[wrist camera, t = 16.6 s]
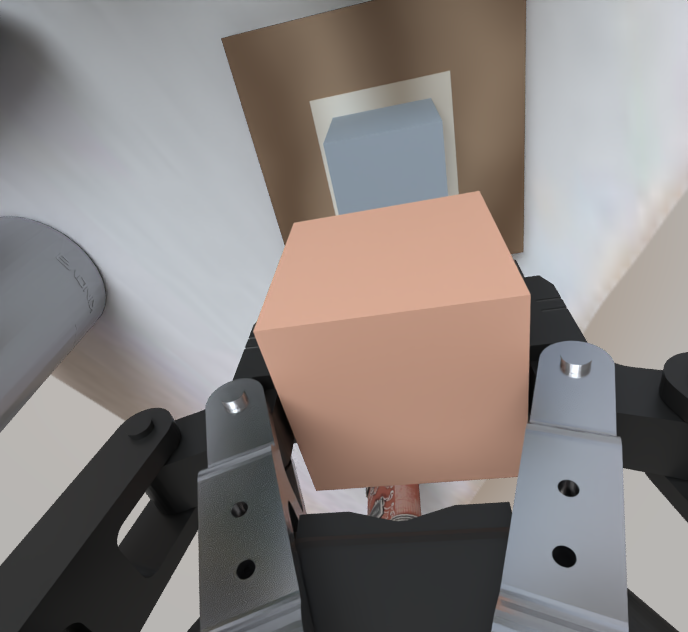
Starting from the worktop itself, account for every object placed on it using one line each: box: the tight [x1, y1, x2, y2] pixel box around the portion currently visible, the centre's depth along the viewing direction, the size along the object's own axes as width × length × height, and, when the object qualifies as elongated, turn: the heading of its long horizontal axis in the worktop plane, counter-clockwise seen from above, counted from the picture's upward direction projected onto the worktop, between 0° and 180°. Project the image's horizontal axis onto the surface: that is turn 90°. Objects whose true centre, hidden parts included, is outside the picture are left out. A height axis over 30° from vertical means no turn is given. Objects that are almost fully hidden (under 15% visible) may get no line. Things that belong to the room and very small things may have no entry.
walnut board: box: [221, 0, 526, 254], centre depth 25 cm, size 14×14×1 cm
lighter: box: [366, 484, 421, 521], centre depth 38 cm, size 8×3×10 cm, turn 162°
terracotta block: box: [253, 191, 531, 491], centre depth 12 cm, size 5×5×5 cm
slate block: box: [323, 98, 448, 215], centre depth 23 cm, size 5×5×5 cm
